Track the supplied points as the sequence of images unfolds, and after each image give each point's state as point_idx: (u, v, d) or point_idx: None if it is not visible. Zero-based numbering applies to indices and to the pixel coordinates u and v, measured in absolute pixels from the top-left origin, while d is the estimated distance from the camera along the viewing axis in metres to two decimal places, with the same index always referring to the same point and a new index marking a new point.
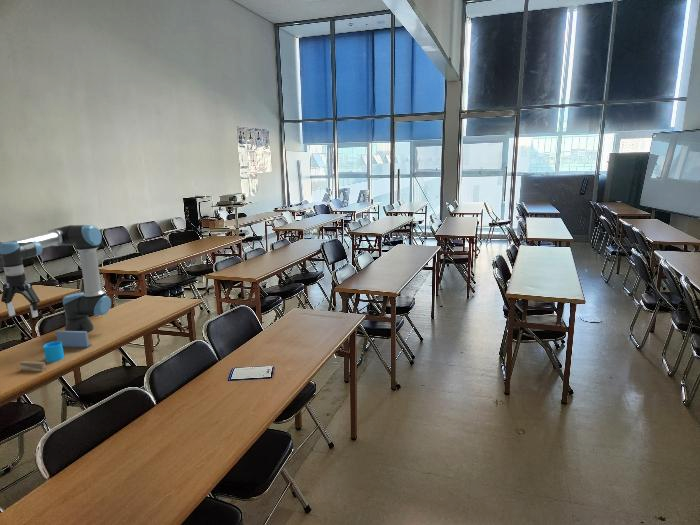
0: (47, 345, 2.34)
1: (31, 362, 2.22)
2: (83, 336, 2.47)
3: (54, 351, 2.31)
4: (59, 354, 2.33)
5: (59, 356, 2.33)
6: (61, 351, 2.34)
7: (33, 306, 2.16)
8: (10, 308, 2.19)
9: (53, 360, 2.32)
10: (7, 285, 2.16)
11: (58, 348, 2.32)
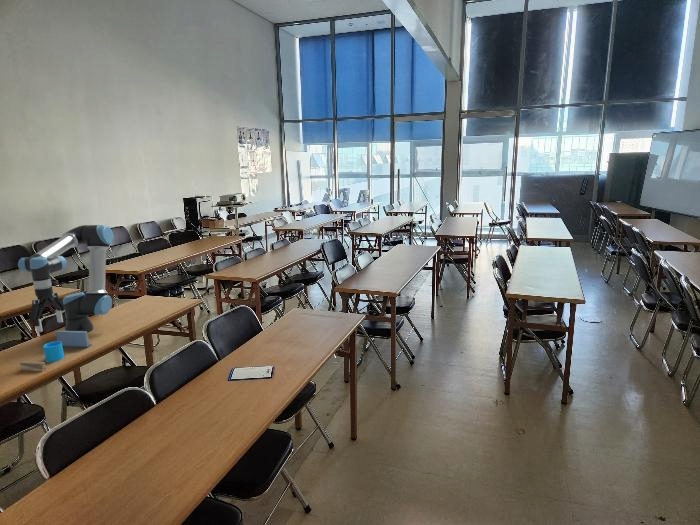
0: (47, 345, 2.34)
1: (31, 362, 2.22)
2: (83, 336, 2.47)
3: (54, 351, 2.31)
4: (59, 354, 2.33)
5: (59, 356, 2.33)
6: (61, 351, 2.34)
7: None
8: (57, 315, 2.39)
9: (53, 360, 2.32)
10: None
11: (58, 348, 2.32)
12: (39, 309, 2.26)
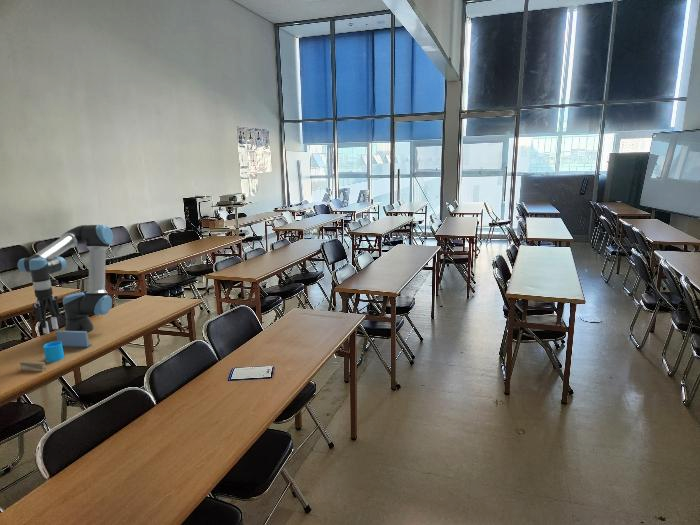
0: (47, 345, 2.34)
1: (31, 362, 2.22)
2: (83, 336, 2.47)
3: (54, 351, 2.31)
4: (59, 354, 2.33)
5: (59, 356, 2.33)
6: (61, 351, 2.34)
7: None
8: (52, 322, 2.36)
9: (53, 360, 2.32)
10: None
11: (58, 348, 2.32)
12: (42, 311, 2.28)
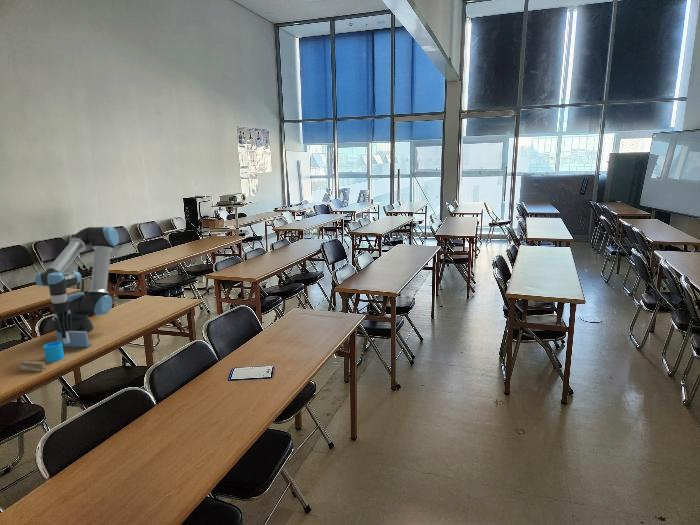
0: (47, 345, 2.34)
1: (31, 362, 2.22)
2: (83, 336, 2.47)
3: (54, 351, 2.31)
4: (59, 354, 2.33)
5: (59, 356, 2.33)
6: (61, 351, 2.34)
7: None
8: None
9: (53, 360, 2.32)
10: None
11: (58, 348, 2.32)
12: (61, 323, 2.40)
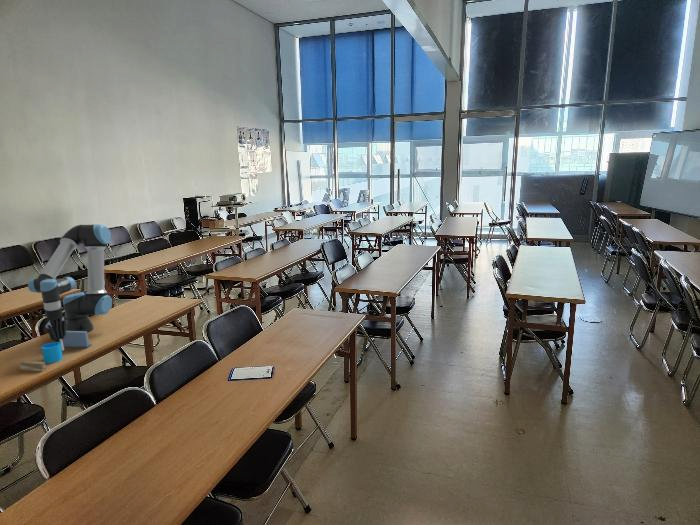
0: (45, 346, 2.33)
1: (31, 362, 2.22)
2: (83, 336, 2.47)
3: (52, 352, 2.30)
4: (57, 355, 2.32)
5: (57, 357, 2.32)
6: (59, 352, 2.33)
7: None
8: None
9: (51, 361, 2.30)
10: None
11: (56, 349, 2.31)
12: (55, 331, 2.36)
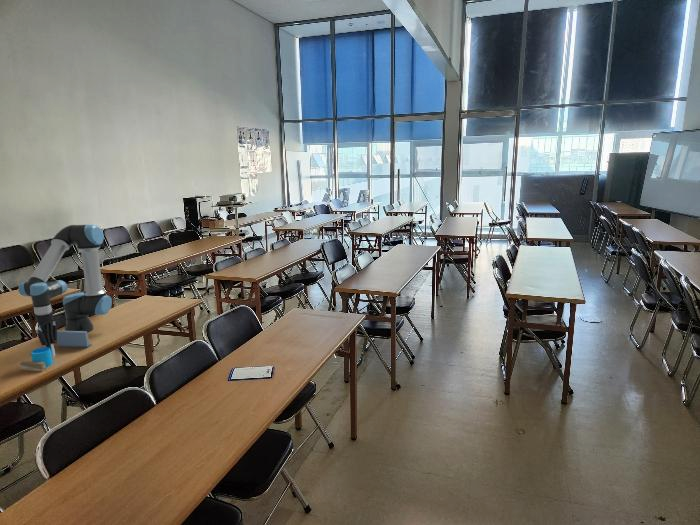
0: (35, 351, 2.27)
1: (31, 362, 2.22)
2: (83, 336, 2.47)
3: (42, 357, 2.24)
4: (47, 361, 2.26)
5: (47, 363, 2.26)
6: (49, 357, 2.27)
7: None
8: None
9: None
10: None
11: (46, 355, 2.25)
12: (46, 335, 2.30)
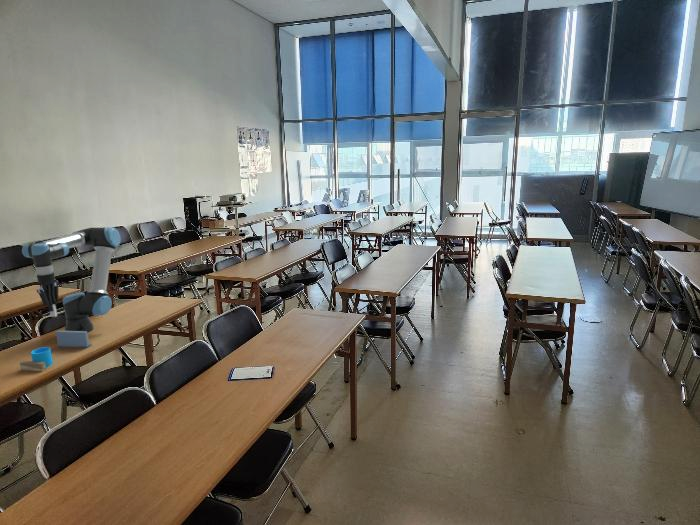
0: (35, 351, 2.27)
1: (31, 362, 2.22)
2: (83, 336, 2.47)
3: (42, 357, 2.24)
4: (47, 361, 2.26)
5: (47, 363, 2.26)
6: (49, 358, 2.27)
7: None
8: None
9: None
10: None
11: (46, 355, 2.25)
12: (47, 296, 2.33)
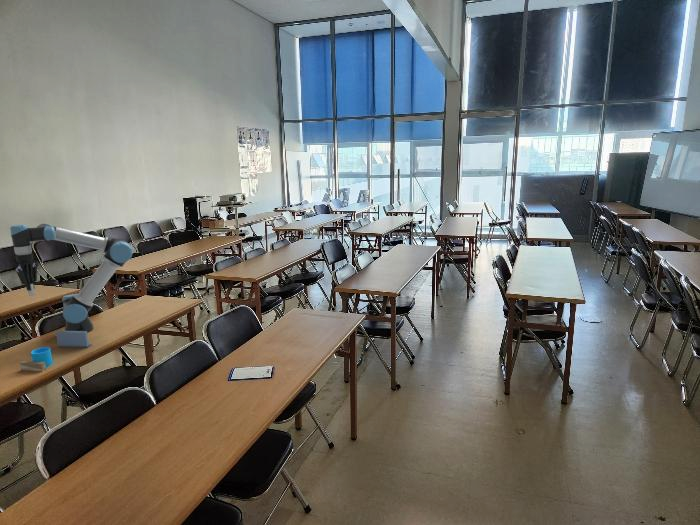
0: (35, 351, 2.27)
1: (31, 362, 2.22)
2: (83, 336, 2.47)
3: (42, 357, 2.24)
4: (47, 361, 2.26)
5: (47, 363, 2.26)
6: (49, 358, 2.27)
7: None
8: None
9: None
10: None
11: (46, 355, 2.25)
12: (25, 275, 2.42)
